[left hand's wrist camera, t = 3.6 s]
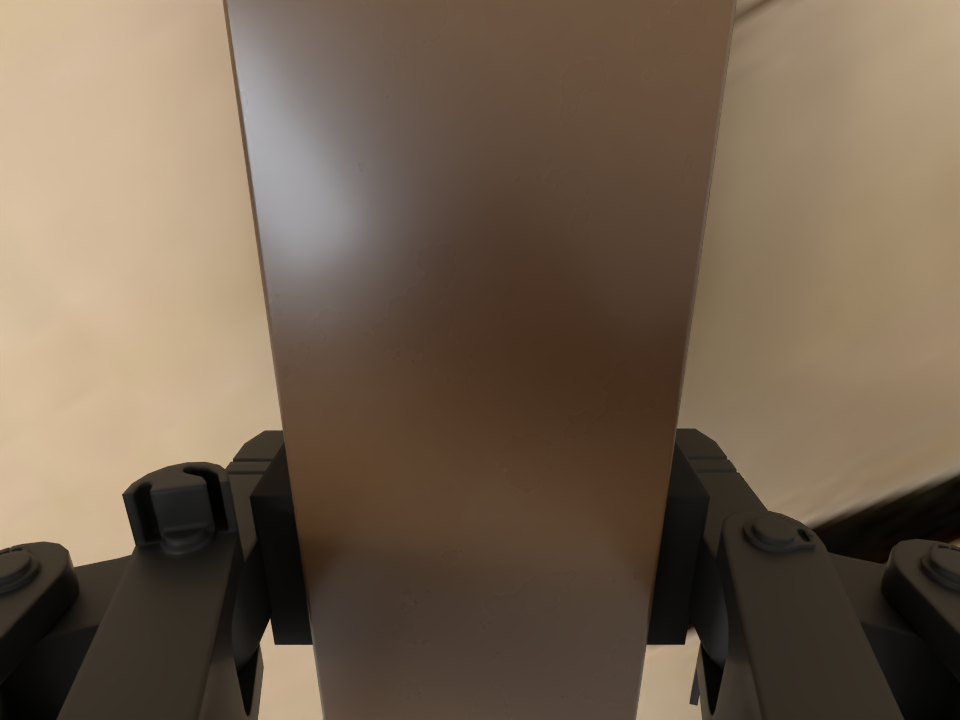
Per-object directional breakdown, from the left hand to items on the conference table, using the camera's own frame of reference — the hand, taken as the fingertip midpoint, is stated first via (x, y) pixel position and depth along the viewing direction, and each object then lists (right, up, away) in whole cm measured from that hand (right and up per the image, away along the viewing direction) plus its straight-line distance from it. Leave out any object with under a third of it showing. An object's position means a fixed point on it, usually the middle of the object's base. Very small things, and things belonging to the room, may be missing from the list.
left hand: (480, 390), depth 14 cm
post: (0, +23, -9) cm, 25 cm away
